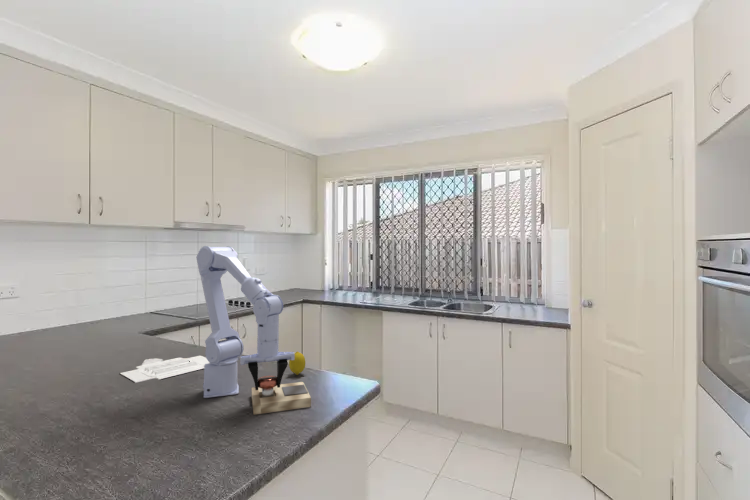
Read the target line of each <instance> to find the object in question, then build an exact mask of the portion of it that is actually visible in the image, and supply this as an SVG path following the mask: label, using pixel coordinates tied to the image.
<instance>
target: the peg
mask: <svg viewBox="0 0 750 500" xmlns="http://www.w3.org/2000/svg"><path fill="white" fill-rule="evenodd" d="M275 386H277V375H276V376H275V375H265V376H261V377H259V378H258V387H259V388H262V398H264V397H272V396H273V387H275Z"/></svg>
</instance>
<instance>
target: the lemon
mask: <svg viewBox="0 0 750 500" xmlns="http://www.w3.org/2000/svg"><path fill="white" fill-rule="evenodd" d="M294 353H295V360H288V361H289V362H288V367H289V370H290V371H291V373H293V374H295V375H296V376H298V375H299V374H300V373H302V372H303V371H304V370H305V367H306V358H305V355H304V354H303V353H302V352H299V351H296V352H294Z"/></svg>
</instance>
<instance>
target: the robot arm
mask: <svg viewBox="0 0 750 500" xmlns="http://www.w3.org/2000/svg"><path fill="white" fill-rule="evenodd" d="M238 258H239V254H238V252H237V251H236V250H235V249H234V247H232V246H229V245H228V246H209V245H204V246H201V248H200V249H199V251H198V253H197V254H196V262H197V263H196V264H197V266H198V272H199V276H200V280H201V285H202V290H203V295H204V300H205V304H206V310H207V314H208V319H209V323H210V329H211V332H210V334H209V335H208V336H207V338H206V339H205V340H204V343H205V352H204V354H205V357H206V358H207V360H208V361H209V363H208V364H205V366H203V367H204V368H203V384H202V385H203V386H202V389H203V398H204V399H208V398H216V397H224V396H225V397H226V396H234V395H238V394H239V393H240V392H239V388H240V387H239V383H238V361H239V360H240V362H239V363H240V366H245V365H247V366H248V367H247V368H248V370H249V372H250V374H251V377H252V379H253V382H254V387H255V390H258V379H259V378H258V377H259V363H270V362H271V363H272V362H276V371H277V372H276V377H277V388H279V387H280V384H282V379H283V376H284V374H285V371H286V369H287V367H288V366H289V362H288V361H289V360H295V353H296V352H294V351H279V347H280V346H279V344H280V343H279V340H280V339H279V337H280V335H279V334H280V331H279V327H280V326H279V325H280V319H279V318H280V316H279V315H280V314H281V313H282V312H283V310H284V301H283V299H282V298H281V296H280V295H278V294H273V293H272V292H271V291H270V290H269V289H268V288H267V287H266V286H265V285H264V284H263V283H262V279H261V278H258V277H253V276H251V275H250V273H249V272H248V270H247V269H246V268H245V266H244V265H243V264H242V262H241V261H240V260H239V259H238ZM227 272H228V273H229V274H230V276H232V277H233V278H234V279H235V280H236V281H237V282H238V283H239V284H240V292H241V293H243V295H244V296H245V298H246V299H248V301H249V302H250V303H251V305H253V306H252V311H253V314H254V316H255V322H256V324H257V341H256V343H257V346H256V350H257V353H253V354H249V355H247V354H246V355H243V354H244V343H243V341H242V339H241V338H240V334H239V332H238V331H237V330H235V329H234V328H232V327H231V324H230V323H231V322H230V317H229V314H228V313H229V312H228V308H227V304H226V300H225V294H224V290H223V286H222V280H221V278H222V276H223V275H225V274H227ZM223 339H224V340H223Z"/></svg>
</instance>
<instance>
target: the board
mask: <svg viewBox="0 0 750 500" xmlns="http://www.w3.org/2000/svg"><path fill="white" fill-rule="evenodd" d="M251 406H252V412H253V414H252V415H255V416H256V415H262V414H268V413H275V412H276V413H277V412H283V411H289V410H298V409H303V408H304V409H305V408H312V397H311V395H310V393H309V390H308V389H307V387H306V385H305V383H304V382H303V381H298V382H289V383H280V387H279V388H277V386H275V387H273V396H272V397H264V398H262V388H259V387H258V390H255V386H253V387H251Z"/></svg>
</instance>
